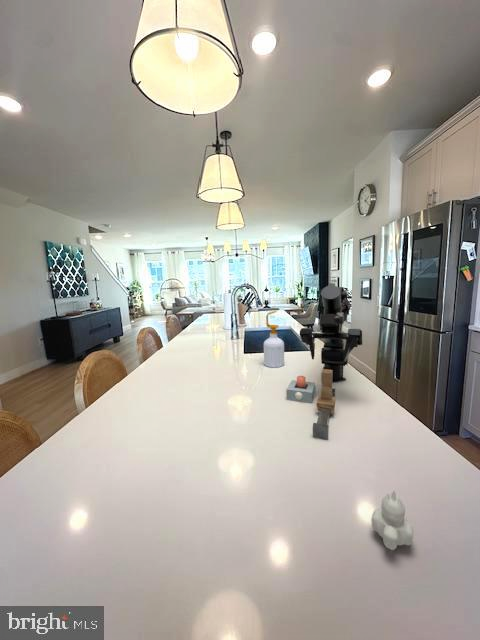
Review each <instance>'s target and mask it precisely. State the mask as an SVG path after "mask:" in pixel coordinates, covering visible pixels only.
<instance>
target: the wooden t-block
mask: <svg viewBox="0 0 480 640" xmlns="http://www.w3.org/2000/svg"><path fill="white" fill-rule="evenodd" d="M332 378H333V370H327V369H323V368H322V370H321V382H320V383H321V385H320V387H321V388H320V389H321V390H320V391H321V392H320V393H321V395H318V396H317V400H316V402H315V403H316V406H315V407H316V411H317V412H320V409H321V407H323V408H329V409H331V412H330V415H331V414H333V415H334V413H335V407H336V402H337V400H336V399H337V398H336V396H335V397H332V388H333V382H332Z"/></svg>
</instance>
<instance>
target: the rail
mask: <svg viewBox="0 0 480 640" xmlns="http://www.w3.org/2000/svg"><path fill="white" fill-rule="evenodd" d="M332 397H336V388H334V387H332ZM318 412H319V411H318ZM317 417H318V418H317V420H316V422H313V423H312V437H313V438H316V439H321V440H327V441H328V440H329V431H330V430H329V428H330V427H329V422H330V417H331V409H329V408H323V407H321V409H320V412H319V413H318V416H317Z"/></svg>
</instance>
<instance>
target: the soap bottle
mask: <svg viewBox="0 0 480 640" xmlns="http://www.w3.org/2000/svg"><path fill="white" fill-rule="evenodd" d="M277 312H278V310H277V309H276V310H272V311H270V312H268V313H267V314H266V316H265V317H266V320H265V322H266V323H265V324H266V327H267V328H269V329H270V330H271V331H270V332H269V337H268V338H267V339H265V340H264V341H263V364H264V366H266V367H268V368H281V367H283V366H284V365H285V342H284V340H282V339H281V338H279V336H278V332H277V331H276V330H277V328H279V324H269V315H271V314H275V313H277Z"/></svg>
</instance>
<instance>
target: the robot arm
mask: <svg viewBox="0 0 480 640" xmlns="http://www.w3.org/2000/svg"><path fill="white" fill-rule="evenodd" d="M320 298H321V299H320V300H322V306H323V308H324V309H323V313H322V314H319V329H320V331H321V332H320V331H314V329H313V327H301V328H300V330H299V337H300V340H301V342H302V343H305V345H306V346H308V347H309V352H310V356H311V360H314V359H315V353H316V352H315V348H316V343H315V342H316V341H315V340H316V339H324V343H323V346H322V348H321V351H320V355H321V356H320V358H321V361H320V362H321V365H323V368H322V369H327V370H333V378H332V383H336V382H337V383H338V382H343V381H346V378H345V377H344V367H345V366H347V365H348V364H349V363H348V361H349V360H348V359H349V358H348V357H349V355H350V353H351V352H352V351H353V349H354V348H358V347H359V346H363V330H362V329H361V328H348V329H347V332H343V324H344V323H345V321H347V320H348V316H349V315H350V301H349V300H348V292H347V290H346V289H345V288H344V286H336V283H335V282H333V283H332V282H330V283H328V285H327V286H325V287H323V289H321V294H320ZM344 340H345V344H344Z"/></svg>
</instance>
